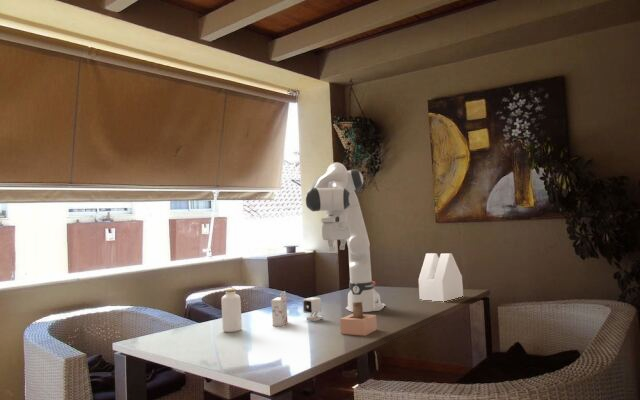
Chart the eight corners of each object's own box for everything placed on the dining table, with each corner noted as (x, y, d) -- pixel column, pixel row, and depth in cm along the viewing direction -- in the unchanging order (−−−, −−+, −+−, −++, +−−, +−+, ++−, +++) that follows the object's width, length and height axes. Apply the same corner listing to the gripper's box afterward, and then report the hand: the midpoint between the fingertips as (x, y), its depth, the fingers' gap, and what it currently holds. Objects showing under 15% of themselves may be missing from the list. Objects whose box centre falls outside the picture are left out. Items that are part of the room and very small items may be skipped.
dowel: (356, 330, 204) (355, 301, 204) (365, 331, 202) (363, 301, 202) (352, 332, 200) (350, 302, 201) (361, 333, 198) (359, 303, 199)
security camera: (303, 320, 231) (302, 299, 231) (313, 317, 236) (312, 296, 236) (313, 321, 226) (312, 300, 227) (323, 319, 232) (322, 297, 232)
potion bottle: (234, 327, 222) (233, 287, 223) (245, 329, 216) (243, 289, 217) (219, 331, 216) (217, 290, 217) (229, 333, 211) (227, 291, 211)
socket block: (353, 327, 209) (352, 313, 209) (376, 329, 203) (376, 315, 203) (340, 333, 199) (340, 318, 199) (365, 335, 194) (364, 320, 194)
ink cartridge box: (277, 322, 230) (276, 290, 231) (287, 322, 229) (286, 290, 230) (272, 326, 221) (270, 293, 222) (282, 326, 220) (281, 293, 221)
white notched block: (443, 302, 258) (440, 255, 260) (419, 300, 270) (416, 254, 271) (463, 297, 271) (460, 252, 273) (439, 295, 283) (436, 252, 284)
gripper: (341, 218, 225) (341, 249, 224) (319, 218, 207) (319, 251, 206) (353, 218, 222) (354, 249, 221) (332, 218, 204) (332, 251, 203)
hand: (337, 250), depth 214 cm, fingers open, 8 cm apart
